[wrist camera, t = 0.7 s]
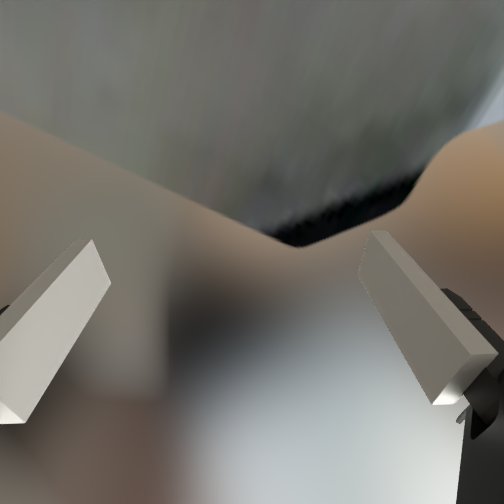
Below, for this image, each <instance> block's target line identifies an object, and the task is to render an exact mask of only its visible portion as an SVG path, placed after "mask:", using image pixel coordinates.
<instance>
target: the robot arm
mask: <svg viewBox="0 0 504 504" xmlns="http://www.w3.org/2000/svg"><path fill="white" fill-rule="evenodd" d="M358 277H359V279H360V280H361V282H362V284H363V286H364V287H365V289H366V291H367V293H368V294H369V296H370V298H371V299H372V301H373V303H374V305H375V307H376V308H377V310H378V312H379V313H380V315H381V317H382V319H383V320H384V322H385V324H386V325H387V328H388V329H389V331H390V333H391V334H392V336H393V338H394V340H395V341H396V343H397V345H398V347H399V348H400V350H401V352H402V354H403V355H404V357H405V359H406V361H407V363H408V364H409V366H410V367H411V369H412V371H413V373H414V375H415V376H416V378H417V380H418V382H419V383H420V385H421V387H422V389H423V390H424V392H425V394H426V396H427V397H428V399H429V401H430V403H431V404H432V405H439V404H455V403H456V402H457V401H458V399H459V398H460V397H461V396H462V395H463V394H464V396H465V397H466V399H467V400H468V402H469V403H470V405H469V406H468V407H467V408H466V409H465V410H464V411H463V412H462V413H461V414H460V415H459V417H458V418H457V420H456V422H457V423H459V424H460V423H461V422H462V421H463V420H464V419H465V427H464V436H463V445H462V454H461V464H460V473H459V482H458V491H457V500H456V504H504V341H503V340H502V339H501V338H500V337H499V336H498V334H496V332H495V331H494V330H492V328H491V327H490V326H489V325H488V324H487V323H486V322H485V321H484V320H483V321H482V320H481V317H480V316H479V315H478V314H477V313H476V312H475V311H472V308H471V307H470V306H469V305H468V304H467V303H466V302H465V301H464V300H463V299H462V298H461V297H460V296H458V295H457V294H455V293H453V292H452V291H450V290H449V289H439V288H438V287H437V285H436V284H435V283H434V282H433V281H432V280H431V279H430V278H429V277H428V276H427V275H426V273H425V272H424V271H423V270H422V269H421V268H420V267H419V266H418V265H417V264H416V263H415V261H414V260H413V259H412V258H411V257H410V256H409V255H408V254H407V253H406V252H405V251H404V249H403V248H402V247H401V246H400V245H399V244H398V243H397V242H396V241H395V240H394V239H393V237H392V236H391V235H390V234H389V233H388V232H387V231H386V230H370V231H369V236H368V239H367V242H366V246H365V249H364V253H363V257H362V260H361V264H360V267H359V271H358ZM110 284H111V282H110V280H109V278H108V275H107V273H106V271H105V268H104V266H103V264H102V261H101V259H100V257H99V254H98V252H97V250H96V248H95V245H94V243H93V241H92V239H81V240H75V241H74V242H73V243H72V244H71V245H70V246H69V247H68V248H67V249H66V250H65V251H64V252H63V253H62V254H61V255H60V256H59V257H58V258H57V259H56V260H55V261H54V262H53V263H52V264H51V265H50V266H49V267H48V268H47V269H46V270H45V271H44V272H43V273H42V274H41V275H40V276H39V277H38V278H37V279H36V280H35V281H34V282H33V283H32V284H31V285H30V286H29V287H28V288H27V289H26V290H25V291H24V292H23V293H22V294H21V295H20V296H19V297H18V298H17V299H16V300H15V301H14V302H13V303H12V304H11V305H7V306H6V307H4V308H2V309H1V310H0V424H9V423H10V424H11V423H25V422H26V421H27V419H28V417H29V416H30V414H31V412H32V411H33V409H34V408H35V406H36V405H37V403H38V401H39V400H40V398H41V396H42V395H43V393H44V392H45V390H46V388H47V387H48V385H49V383H50V382H51V380H52V379H53V377H54V375H55V374H56V372H57V370H58V369H59V367H60V366H61V364H62V362H63V361H64V359H65V357H66V356H67V354H68V353H69V351H70V349H71V348H72V346H73V344H74V343H75V341H76V340H77V338H78V336H79V335H80V333H81V331H82V330H83V328H84V327H85V325H86V323H87V321H88V320H89V319H90V317H91V315H92V314H93V312H94V310H95V309H96V307H97V306H98V304H99V302H100V301H101V299H102V297H103V296H104V294H105V292H106V291H107V289H108V287H109V286H110Z"/></svg>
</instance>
